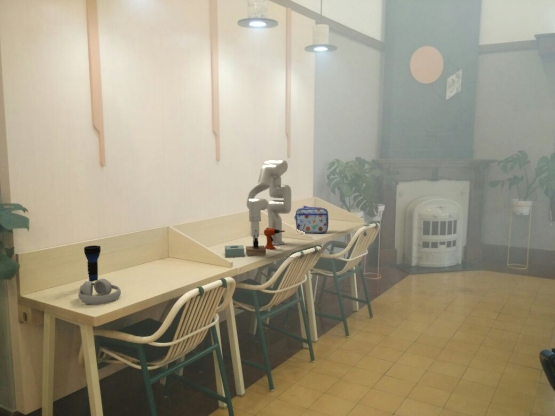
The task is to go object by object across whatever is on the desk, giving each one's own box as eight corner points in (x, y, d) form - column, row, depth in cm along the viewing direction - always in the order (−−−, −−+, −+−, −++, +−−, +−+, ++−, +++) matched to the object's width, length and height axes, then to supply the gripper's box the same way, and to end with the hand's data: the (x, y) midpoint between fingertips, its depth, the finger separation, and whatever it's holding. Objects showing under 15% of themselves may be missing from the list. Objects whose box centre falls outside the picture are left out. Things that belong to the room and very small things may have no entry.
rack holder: (224, 253, 330) (224, 245, 329) (243, 252, 331) (242, 244, 331) (225, 257, 318) (225, 249, 317) (244, 256, 319) (244, 248, 319)
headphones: (72, 296, 236) (85, 312, 221) (72, 280, 234) (84, 296, 219) (111, 289, 247) (125, 304, 231) (111, 274, 245) (125, 288, 230)
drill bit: (253, 253, 328) (252, 238, 326) (258, 253, 328) (257, 238, 327) (253, 254, 325) (253, 239, 323) (258, 254, 325) (258, 238, 324)
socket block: (246, 252, 331) (245, 246, 331) (264, 251, 333) (263, 245, 332) (247, 256, 320) (247, 249, 319) (266, 255, 321) (265, 249, 321)
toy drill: (284, 249, 330) (281, 227, 330) (263, 249, 342) (261, 228, 342) (289, 248, 334) (286, 226, 333) (268, 248, 346) (265, 227, 346)
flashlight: (105, 284, 258) (103, 246, 255) (90, 287, 252) (87, 249, 250) (98, 281, 263) (96, 244, 261) (83, 284, 258) (81, 246, 255)
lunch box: (293, 234, 398) (293, 206, 395) (295, 231, 408) (294, 205, 406) (328, 234, 394) (328, 206, 392) (328, 232, 404) (328, 205, 402)
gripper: (248, 217, 331) (249, 244, 333) (250, 221, 315) (251, 249, 317) (259, 217, 332) (260, 244, 334) (262, 220, 316) (262, 249, 318)
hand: (255, 246), depth 326 cm, fingers closed on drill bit, 3 cm apart
